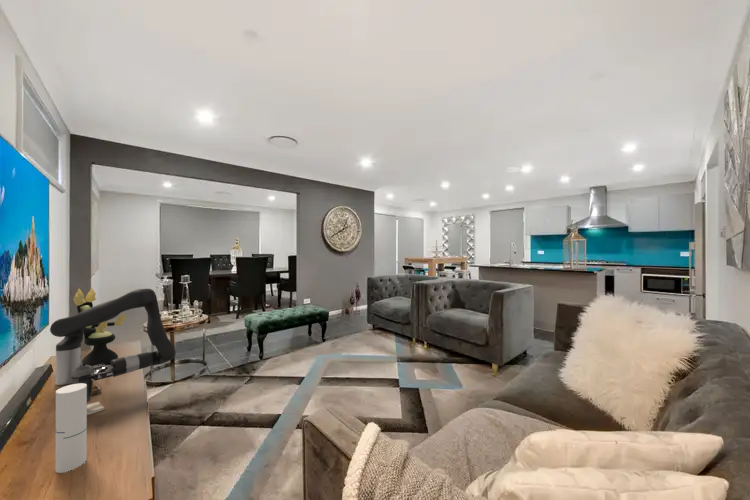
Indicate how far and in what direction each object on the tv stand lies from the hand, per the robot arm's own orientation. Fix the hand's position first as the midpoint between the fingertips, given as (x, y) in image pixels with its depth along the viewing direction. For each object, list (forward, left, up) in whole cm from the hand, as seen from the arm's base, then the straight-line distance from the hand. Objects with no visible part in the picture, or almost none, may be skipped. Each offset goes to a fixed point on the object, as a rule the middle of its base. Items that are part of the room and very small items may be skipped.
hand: (76, 377), depth 129 cm
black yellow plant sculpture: (-66, +20, -16) cm, 71 cm away
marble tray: (-20, +7, -15) cm, 27 cm away
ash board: (0, +2, -15) cm, 16 cm away
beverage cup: (0, +2, -11) cm, 11 cm away
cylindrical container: (+39, -8, -16) cm, 43 cm away
